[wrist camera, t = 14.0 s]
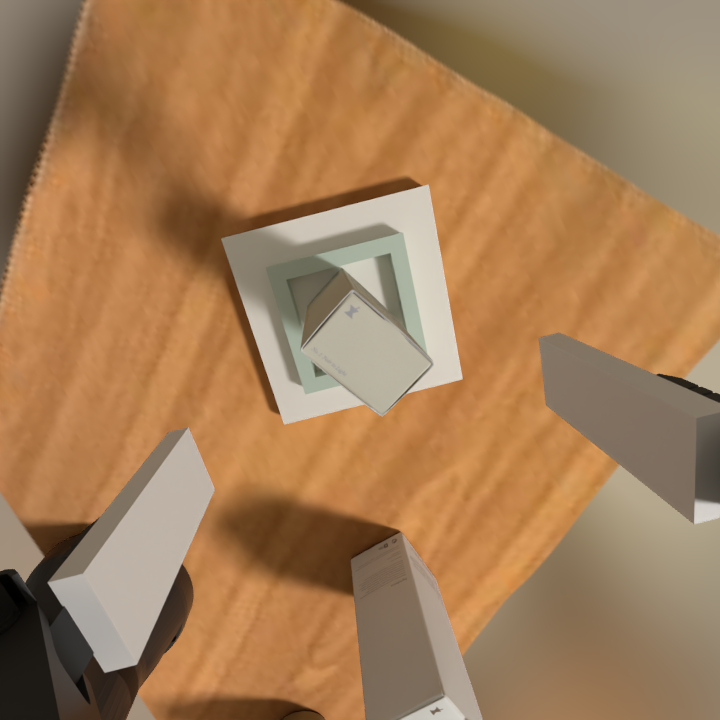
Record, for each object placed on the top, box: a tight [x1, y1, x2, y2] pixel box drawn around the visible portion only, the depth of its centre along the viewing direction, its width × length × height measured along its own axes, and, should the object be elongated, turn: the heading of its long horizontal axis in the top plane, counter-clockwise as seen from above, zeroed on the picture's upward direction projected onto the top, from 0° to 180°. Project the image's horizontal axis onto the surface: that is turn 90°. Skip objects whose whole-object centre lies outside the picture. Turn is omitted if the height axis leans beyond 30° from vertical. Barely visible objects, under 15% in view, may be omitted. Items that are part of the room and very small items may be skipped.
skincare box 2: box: [351, 532, 483, 720], centre depth 36 cm, size 8×7×16 cm
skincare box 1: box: [300, 268, 434, 416], centre depth 27 cm, size 6×4×12 cm
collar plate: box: [221, 185, 462, 424], centre depth 33 cm, size 16×16×3 cm
